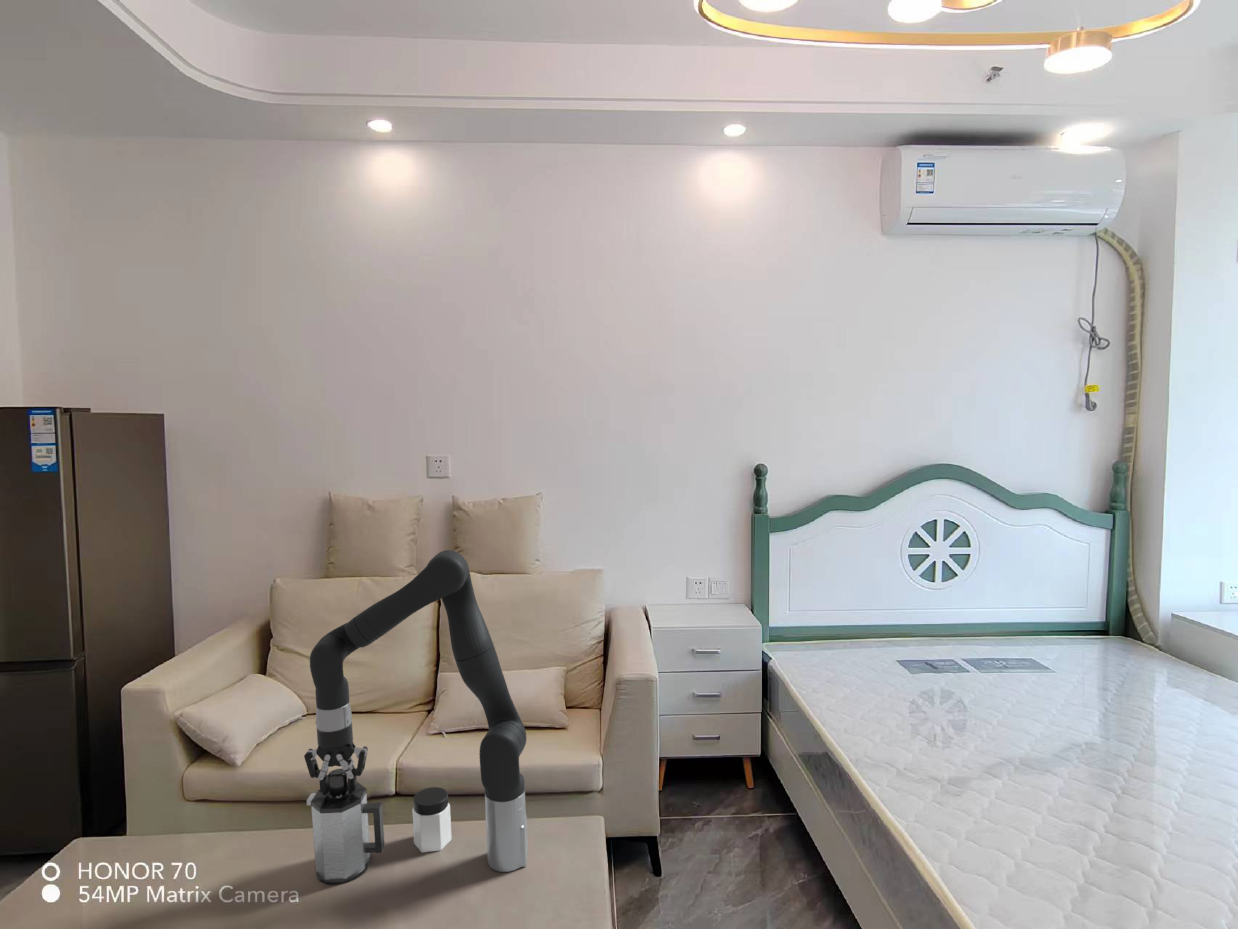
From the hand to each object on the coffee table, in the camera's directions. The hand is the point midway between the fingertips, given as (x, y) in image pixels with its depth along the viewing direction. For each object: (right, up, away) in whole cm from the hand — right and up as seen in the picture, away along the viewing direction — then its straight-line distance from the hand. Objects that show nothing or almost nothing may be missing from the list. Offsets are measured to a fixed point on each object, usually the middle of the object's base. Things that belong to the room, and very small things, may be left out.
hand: (338, 792), depth 168 cm
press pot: (+2, -19, +2) cm, 19 cm away
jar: (+19, -17, +11) cm, 28 cm away
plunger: (0, -16, +2) cm, 16 cm away
